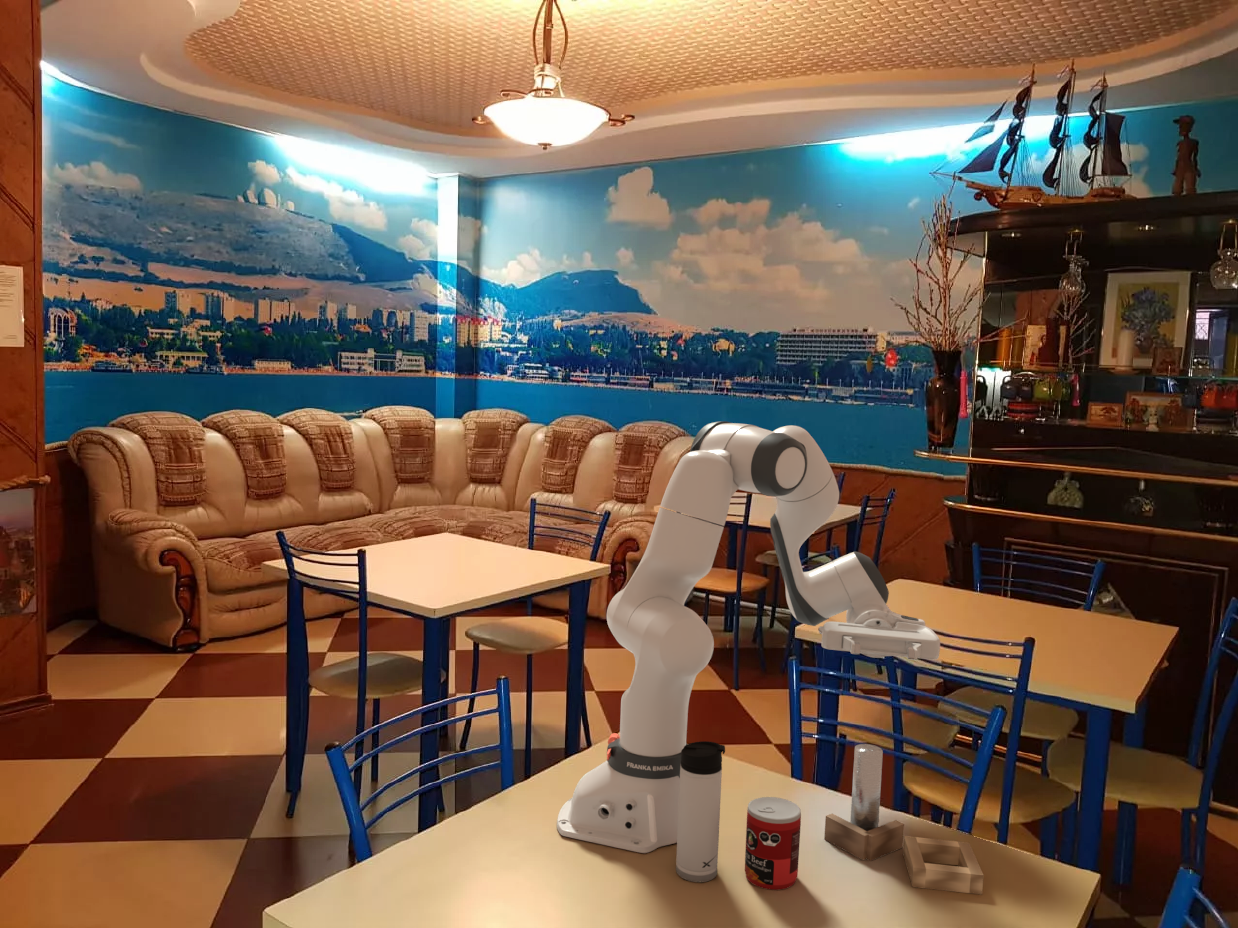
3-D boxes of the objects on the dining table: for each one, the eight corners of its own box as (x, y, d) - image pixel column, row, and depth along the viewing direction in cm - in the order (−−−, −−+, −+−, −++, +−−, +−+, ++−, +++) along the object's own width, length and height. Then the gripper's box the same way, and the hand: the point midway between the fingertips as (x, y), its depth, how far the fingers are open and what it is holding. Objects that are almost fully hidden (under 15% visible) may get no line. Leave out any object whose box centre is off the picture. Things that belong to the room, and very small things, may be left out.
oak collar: (912, 886, 141) (913, 867, 140) (902, 853, 151) (904, 835, 150) (982, 894, 139) (983, 875, 139) (967, 860, 149) (969, 842, 149)
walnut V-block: (826, 855, 149) (827, 831, 149) (823, 835, 156) (825, 812, 155) (907, 864, 147) (909, 840, 147) (901, 844, 154) (903, 820, 153)
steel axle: (850, 849, 151) (856, 753, 150) (848, 836, 156) (853, 742, 154) (878, 851, 151) (884, 755, 149) (875, 838, 155) (881, 745, 154)
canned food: (734, 869, 144) (738, 800, 143) (779, 860, 147) (782, 792, 146) (761, 895, 137) (765, 822, 136) (807, 885, 140) (811, 814, 139)
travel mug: (717, 885, 139) (723, 755, 137) (673, 879, 140) (678, 750, 138) (721, 864, 145) (727, 739, 143) (678, 859, 146) (684, 734, 145)
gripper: (818, 609, 174) (823, 628, 161) (933, 620, 171) (947, 640, 158) (816, 643, 175) (820, 664, 161) (929, 654, 172) (944, 676, 158)
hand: (884, 652), depth 160 cm, fingers open, 8 cm apart
